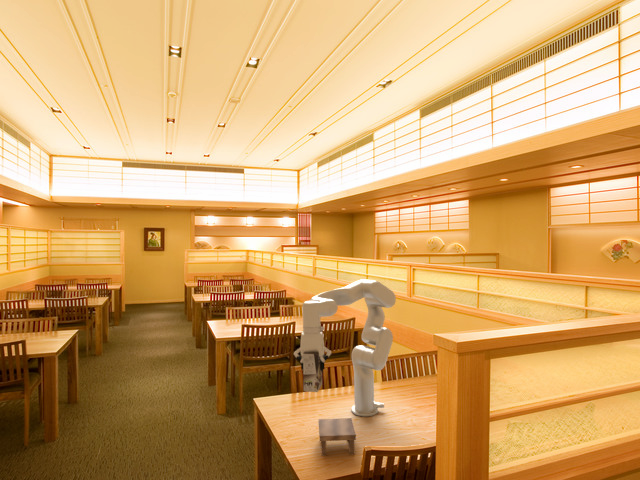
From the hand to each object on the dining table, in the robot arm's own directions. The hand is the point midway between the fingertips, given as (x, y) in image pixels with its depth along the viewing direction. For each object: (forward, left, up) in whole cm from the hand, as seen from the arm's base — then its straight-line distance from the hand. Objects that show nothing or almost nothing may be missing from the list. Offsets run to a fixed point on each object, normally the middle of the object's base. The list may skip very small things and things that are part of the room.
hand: (312, 370), depth 168 cm
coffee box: (0, 0, -8) cm, 8 cm away
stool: (-9, +10, -28) cm, 31 cm away
